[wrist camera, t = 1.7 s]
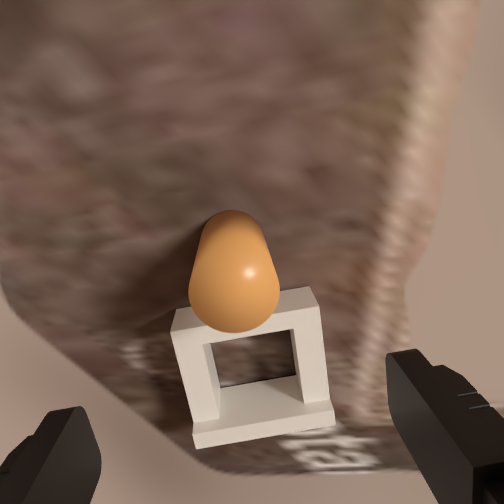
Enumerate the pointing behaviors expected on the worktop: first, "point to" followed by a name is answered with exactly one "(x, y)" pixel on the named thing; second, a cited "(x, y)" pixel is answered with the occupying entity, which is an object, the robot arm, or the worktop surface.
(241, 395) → the housing
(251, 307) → the orange capsule
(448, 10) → the worktop surface
